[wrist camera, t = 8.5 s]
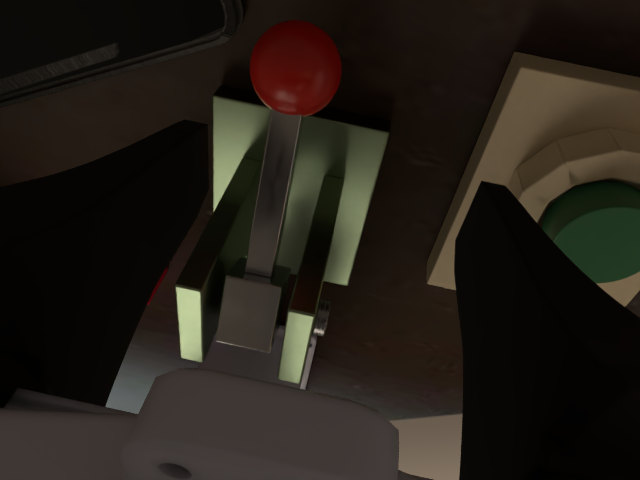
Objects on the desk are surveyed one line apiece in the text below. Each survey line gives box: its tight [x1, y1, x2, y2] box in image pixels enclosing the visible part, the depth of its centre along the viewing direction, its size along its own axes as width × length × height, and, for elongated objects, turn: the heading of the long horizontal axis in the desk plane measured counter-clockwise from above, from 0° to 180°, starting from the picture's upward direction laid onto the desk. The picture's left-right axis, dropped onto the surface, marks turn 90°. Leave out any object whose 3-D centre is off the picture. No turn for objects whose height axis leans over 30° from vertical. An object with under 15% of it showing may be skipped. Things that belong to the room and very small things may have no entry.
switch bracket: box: [175, 86, 391, 384], centre depth 22 cm, size 10×8×10 cm
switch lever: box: [215, 20, 342, 353], centre depth 18 cm, size 12×3×3 cm, turn 172°
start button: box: [542, 181, 640, 283], centre depth 19 cm, size 4×4×2 cm
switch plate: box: [427, 52, 640, 307], centre depth 22 cm, size 12×10×4 cm
